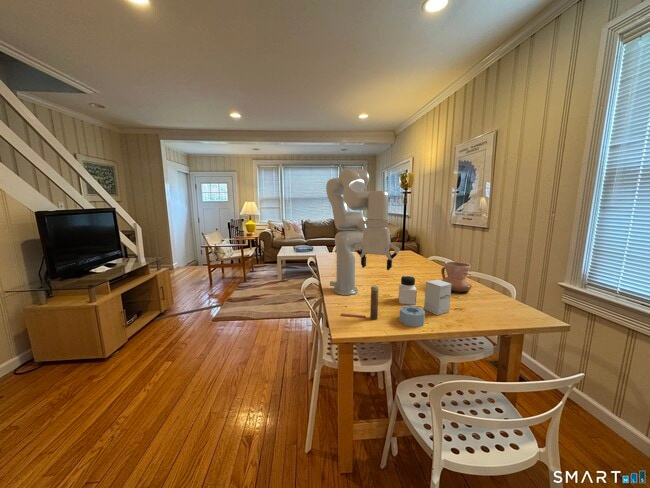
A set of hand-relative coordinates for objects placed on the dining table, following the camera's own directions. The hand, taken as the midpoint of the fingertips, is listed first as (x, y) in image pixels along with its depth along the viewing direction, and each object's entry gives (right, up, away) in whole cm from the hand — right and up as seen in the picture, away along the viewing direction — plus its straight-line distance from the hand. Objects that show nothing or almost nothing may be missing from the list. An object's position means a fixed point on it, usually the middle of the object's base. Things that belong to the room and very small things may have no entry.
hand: (376, 268), depth 98 cm
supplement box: (+28, -19, +10) cm, 36 cm away
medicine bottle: (+19, -18, +21) cm, 33 cm away
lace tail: (-8, -20, +5) cm, 22 cm away
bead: (+14, -21, +1) cm, 25 cm away
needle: (0, -20, +3) cm, 21 cm away
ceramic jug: (+49, -15, +37) cm, 64 cm away
